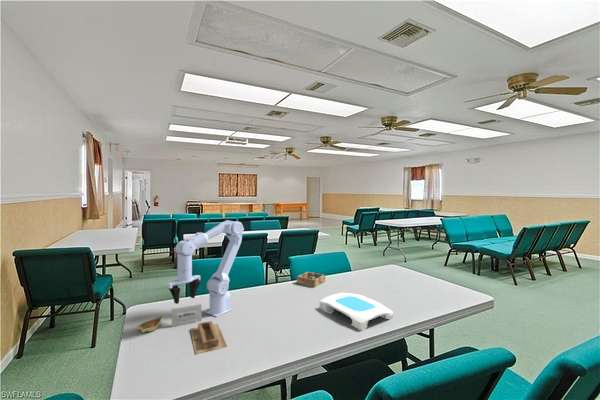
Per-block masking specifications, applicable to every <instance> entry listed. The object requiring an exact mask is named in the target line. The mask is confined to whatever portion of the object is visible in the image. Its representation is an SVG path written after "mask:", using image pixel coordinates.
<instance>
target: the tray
mask: <svg viewBox="0 0 600 400" xmlns="http://www.w3.org/2000/svg"><path fill="white" fill-rule="evenodd" d="M190 336H191V340H192V344H193V350H194V354H195V356H196V355H198V354H203V353H207V352H212V351H215V350H220V349H225V348H227V347H228V345H227V343H226V340H225V338H224V335H223V333H222V330H221V328H220V326H219V323H214V324H213V321H212V320H209V321H205V322H203V321H202V322H200V323H199V322H197V327H192V328H191V327H190Z"/></svg>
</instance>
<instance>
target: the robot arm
mask: <svg viewBox="0 0 600 400" xmlns="http://www.w3.org/2000/svg"><path fill="white" fill-rule="evenodd" d="M244 230H245V228H244V225H243V223H242V222H241V221H233V220H229V219H228V220H224V221H222V222H220V223H219V224H217V225H216V226H214V227H211V229H209V230H207V231H206V232H195V234H194V235H193V236H191V237H187V238H185V240H180V241H178V242H177V244H176V245H175V247H174V251H175V253H176V254H177V278H176V279H175V280H173V281H170V282H167V289H168V290H169V291H170V294H171V296H172V298H173V303H174V304H176V305H178V304H179V303H180V292H181V288H180V287H179V286H182V285H185V284H189V296H190V298H191V299H195V298H196V293H197V290H198V288H199V286H200V284H201V275H199V274H196V275H195V274H194V275H193V262H192V261H193V254H194V252H195V251H196V250H197V249H199V248H202V247H203V246H204V245H207V243H208V241H209V240H210V239H213V238H215V237H216V236H218V235H221V234H223V233H224V234H225V235H226V237H227V238H228V240H229V242H228V245H227V247H226V249H225V252H224V254H223V255H222V257H221V261H220V264H219V266H218V268H217V270H216V272H214V273H213V274H212V275H211V277H210V278H209V280H208V281H207V283H206V289H207V290H208V293H209V310H207V311H205V314H208V315H210V316H213V317H215V318H217V317H220V316H222V315H224V314H226V313H228V312H231V311H232V310H233V309H232V308H231V305H232V304H231V300H232V299H231V293H230V292H229V291H228V290H229V283H230V277H229V273H230V271H231V268H232V266H233V263H234V262H235V259H236V256H237V254H238V251H239V249H240V246H241V243H242V239H243V233H244Z"/></svg>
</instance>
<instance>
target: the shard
mask: <svg viewBox="0 0 600 400" xmlns="http://www.w3.org/2000/svg"><path fill="white" fill-rule="evenodd" d="M163 317H164V315H161V316H159V317H157V318H156V317H155V318H152V319H150V320H148V321H144V322H142V323H139V324H137V326H136V328H137V330H139V331H141V332H142V333H143V334H145V333H146V332H153V331H155V330H156V329H157V328H158V326H160V324H161V322H162V320H163Z"/></svg>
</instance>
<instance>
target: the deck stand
mask: <svg viewBox="0 0 600 400" xmlns="http://www.w3.org/2000/svg"><path fill="white" fill-rule="evenodd" d="M312 272H313V271H312ZM312 272H310V271H306V272H304V273H302V274H299V275H297V276H296V284H297V285H300V286H306V287H310V288H316V287H318V286H320V285H321V284H324V283H326V275H325V274H322V273H321V274H320V273H316V272H313V273H312ZM310 274H313V275H310ZM309 277H310V278H309ZM312 277H315V278H313V279H312Z"/></svg>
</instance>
